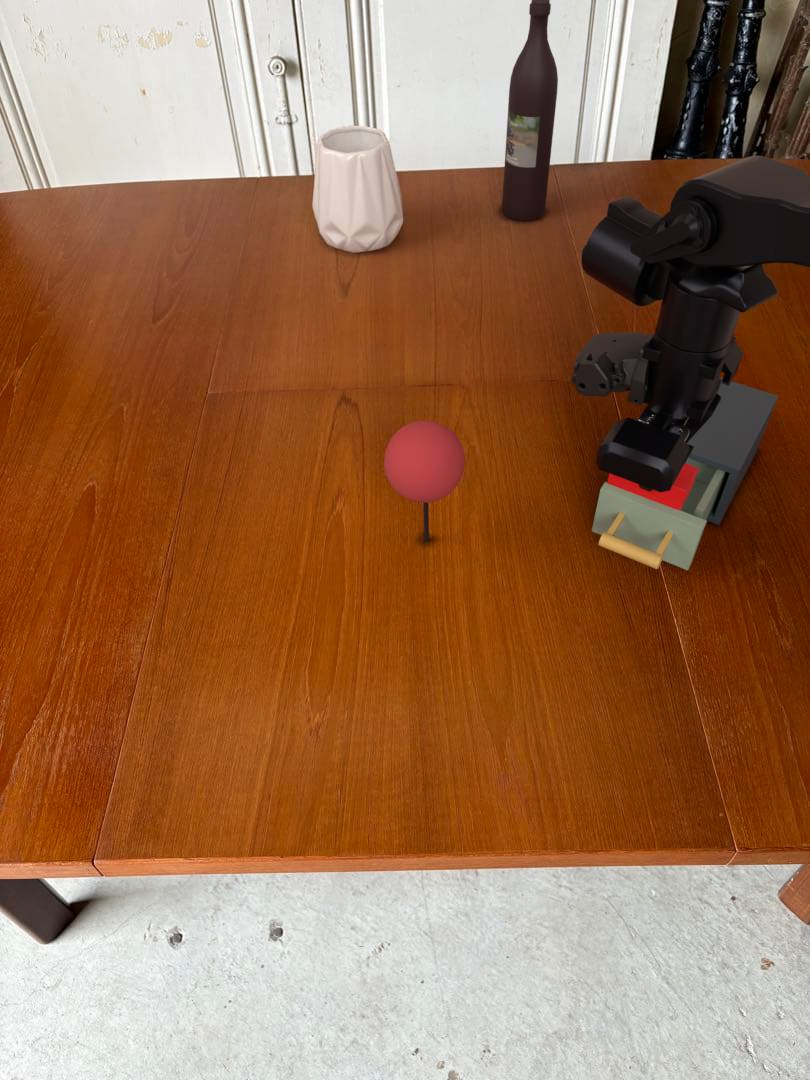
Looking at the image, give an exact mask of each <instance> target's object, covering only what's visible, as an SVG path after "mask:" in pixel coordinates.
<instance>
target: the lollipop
mask: <svg viewBox="0 0 810 1080" xmlns="http://www.w3.org/2000/svg"><path fill="white" fill-rule="evenodd" d="M383 458H384V460H383V466H384V467H383V468H384V472H385V476H386V479H387V481H388V482H389V484H390V486H391V487H392V489H394V491H396V492H397V494H399V495H400V496H402V497H403V498H404V499H407V500H409V501H412V502H416V503H422V509H423V511H422V513H423V533H424V535H423V542H426V543H428V542H430V541H431V538H430V520H429V519H430V517H429V513H430V512H429V503H433V502H438V501H441V500H442V499H445V498H447V496H449V495H451V493H453V492H454V490H455V489H456V488H457V486H458V485H459V483H460V482H461V480H462V478H463V474H464V471H465V467H466V455H465V450H464V446H463V444H462V442H461V440H460V438H459V437H458V435H457V434H456V433H455V432H454V431H453V430H452V429H450V428H449V427H447V426H446V425H444V424H442V423H440V422H437V421H433V420H417V421H413V422H409V423H407V424H405V425H404V426H402V427H401V428H398V430H397V431H396V432H395V433H394V434H393V435H392V437H391V438H390V440H389V442H388V444H387V446H386V449H385V453H384V457H383Z"/></svg>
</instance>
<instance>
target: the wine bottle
mask: <svg viewBox="0 0 810 1080" xmlns="http://www.w3.org/2000/svg"><path fill="white" fill-rule="evenodd" d="M550 1H551V0H531V1H530V2H531V3H530V4H529V8H528V10H529V11H528V14H529V29H528V34H527V38H526V41H525V43H524V45H523V48H522V49H521V51H520V53H519V54H518V57H517V58H516V61H515V63H514V65H513V67H512V70H511V76H510V82H509V89H508V105H507V121H506V135H505V136H506V137H505V153H504V168H503V169H504V170H503V185H502V198H501V199H502V200H501V211H502V213H503V215H504V216H506V217H507V218H509V219H511V220H515V221H522V222H523V221H533V220H536V219H539V218H540V217H542V216H543V215H544V213H545V211H546V204H547V195H548V186H549V176H550V175H549V174H550V165H551V157H552V148H553V147H552V146H553V138H554V137H553V135H554V129H555V128H554V127H555V126H554V125H555V119H556V118H555V117H556V107H557V99H558V98H557V97H558V87H559V76H558V67H557V64H556V61H555V57H554V54H553V52H552V50H551V47H550V43H549V40H548V39H549V37H548V23H549V16H550V14H551V7H552V4H551V2H550Z"/></svg>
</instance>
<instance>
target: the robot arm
mask: <svg viewBox="0 0 810 1080" xmlns="http://www.w3.org/2000/svg"><path fill="white" fill-rule="evenodd" d="M580 262H581V266H582V270H583V271H584V273H585V274H586V275H587V276H589V277H590V278H592V279H594V280H595V281H597V282H598V283H600V284H602V285H603V286H605V287H606V288H608V289H609V290H611V291H613V292H614V293H616V294H618V295H619V296H621V297H623V298H624V299H625V300H627V301H629V302H631V304H633V305H635V306H638V307H646V306H649V305H651V304H653V303H656V301H657V302H658V301H659V302H660V301H661V305H660V309H659V312H658V317H657V321H656V326H655V329H654V334H652V333H643V332H639V331H629V332H628V331H626V332H601V333H597V334H595V335H593V336H591V338H589V339H588V341H587V342H586V344H585V345H584V346H583V347H582V348H581V350H580V351H579V353H578V354H577V355H576V357H575V363H574V364H573V366H572V367H573V375H572V376H571V378H570V381H571V383H572V384H573V385H575V386H576V389H577V392H578V393H579V394H580V395H582V396H583V397H608V396H609V395H610V393H626V392H628V396H627V399H626V400H627V401H626V402H628V403H632V404H634V405H637V406H641V407H642V406H643V405H644V404H645V405H646V406H645V407H644V409H643V410H644V411H643V410H642V412H641V413H642V414H641V413H640V415H639V416H640V417H638V418H639V419H638V418H637V419H638V421H637V419H634V418H631V417H625V418H623V419H620V420H617V421H615V422H614V424H613V425H612V427H611V428H610V429H609V431H608V432H607V434H606V435H605V436H604V438H603V440H602V441H601V443H600V444H599V446H598V450H597V455H596V459H595V465H596V466H597V468H598V469H599V471H601V472H605V473H607V474H609V473H610V474H612V475H615V476H618V477H620V478H623V479H626V480H629V481H631V482H634V483H637V484H639V487H640V488H641V489H643V490H646V491H649V492H650V491H652V490H655V491H658V492H665V491H670V489H671V487H672V486H673V484H674V482H675V480H676V479H677V477H678V475H679V473H680V472H681V469H682V467H683V466H684V464H685V463H686V461H687V459H688V457H689V455H690V454H691V452H692V450H693V448H694V446H692V445H689V444H687V443H688V441H689V440H690V439H691V438H692V437H693V436H694V435H695V434H696V433H697V431H698V430H699V429H700V428H701V427H702V426H703V425H704V424H705V423H706V422H707V420H708V419H709V418H710V417H711V416H712V415H713V413H714V411H715V409H716V408H717V406H718V404H719V402H720V401H721V396H720V395H719V394H717V392H718V390H719V388H720V385H721V382H722V384H724V385H727V386H729V385H730V383H731V381H732V382H733V379H734V378H735V376H736V374H737V372H738V371H739V367H740V364H741V362H742V359H743V356H744V353H743V350H742V349H741V347H740V346H739V344H738V343H737V341H736V339H737V337H736V336H734V333H735V330H736V327H737V324H738V321H739V319H740V314H741V313H745V312H748V311H749V310H751V309H754V308H756V307H757V306H760V305H761V304H763V303H766V302H768V301H770V300H772V299H774V298H775V297H777V296H778V293H779V291H778V288H777V287H776V285H775V282H774V281H773V279H772V278H771V277H770V276H769V275H768V274H767V273H766V271H765V268H764V265H767V264H793V265H797V266H802V267H807V268H810V176H809V174H808V173H807V172H806V171H805V170H804V169H802V168H799V167H796V166H793V165H790V164H787V163H784V162H781V161H779V160H776V159H773V158H770V157H767V156H763V155H753V156H748V157H745V158H742V159H740V160H737V161H734V162H732V163H729V164H728V165H724V166H721V167H719V168H717V169H714V170H711V171H709V172H707V173H703V174H702V175H699V176H696V177H693V178H692V179H688V180H687V181H684V182H683V183H682V184H681V186H680V187H679V188H678V189H677V190H676V191H675V193H674V195H673V198H672V200H671V202H670V206H669V211H668V212H667V213H666V214H664V215H661V214H659V213H657V212H655V211H653V210H651V209H650V208H647V207H646V206H644V205H643V204H642V202H640V201H639V200H637V199H635V198H633V197H631V196H630V195H625V196H623V197H621V198H618V199H616V200H613V201H611V202H609V203H608V206H607V212H606V216H604V217H603V219H602V220H601V221H600V222H599V223H598V224H597V225H596V227H595V228H594V229H593V231H592V232H591V234H590V236H589V238H588V240H587V242H586V244H585V245H584V246H583V247H582V252H581V261H580ZM721 373H724V374H723V376H722V379H723V380H722V379H719V378H721ZM655 415H656V416H655ZM653 418H654V419H653Z"/></svg>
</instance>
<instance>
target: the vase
mask: <svg viewBox="0 0 810 1080" xmlns="http://www.w3.org/2000/svg"><path fill="white" fill-rule="evenodd" d="M315 145H316V146H315V160H314V161H315V162H314V181H313V193H312V203H311V204H312V205H311V206H312V211H313V215H314V219H315V221H316V224H317V228H318V233H319V234H320V235H321V238H322V239H323V241H324V242H325V243H326V245H328V246H330V247H332V248H333V249H337V250H341V251H345V252H347V253H352V254H357V253H364V252H373V251H375V250H382V249H383V248H386V247H388V246H389V245H390V244H392V242H393V241H394V240H395V239H396V237H397V236H398V235H399V232H400V231H401V229H402V226H403V223H404V209H403V195H402V190H401V185H400V182H399V178H398V174H397V170H396V166H395V161H394V158H393V153H392V148H391V144H390V141H389V139H388V138H387V135H386V133H385V132H384V131H382V130H381V129H378V128H376V127H370V126H368V125H348V126H340V127H336V128H332V129H329V130H328V131H326V132H325V133H323V134H322V135H321V136H320V137H319V138H318V139H317V142H316V144H315Z"/></svg>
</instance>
